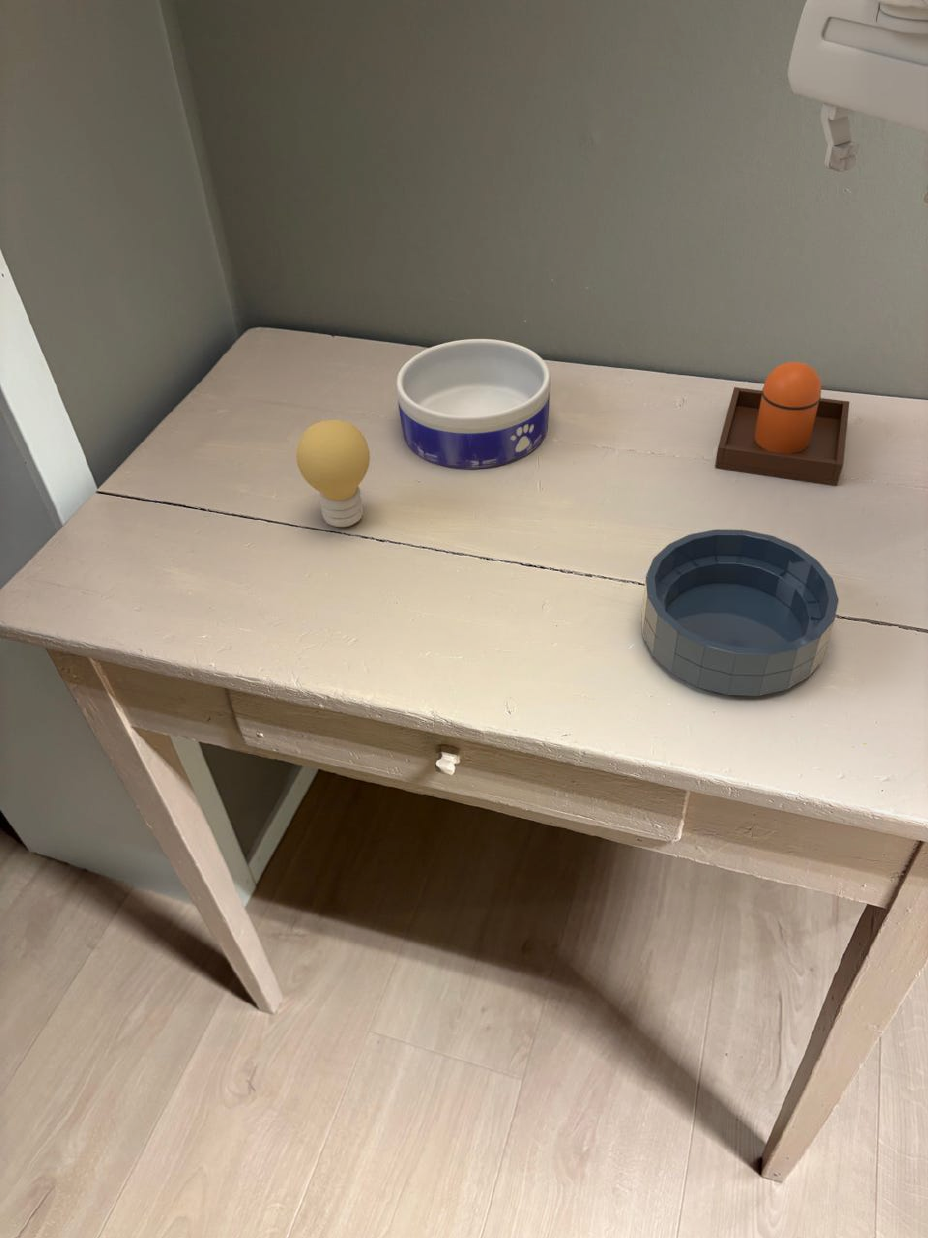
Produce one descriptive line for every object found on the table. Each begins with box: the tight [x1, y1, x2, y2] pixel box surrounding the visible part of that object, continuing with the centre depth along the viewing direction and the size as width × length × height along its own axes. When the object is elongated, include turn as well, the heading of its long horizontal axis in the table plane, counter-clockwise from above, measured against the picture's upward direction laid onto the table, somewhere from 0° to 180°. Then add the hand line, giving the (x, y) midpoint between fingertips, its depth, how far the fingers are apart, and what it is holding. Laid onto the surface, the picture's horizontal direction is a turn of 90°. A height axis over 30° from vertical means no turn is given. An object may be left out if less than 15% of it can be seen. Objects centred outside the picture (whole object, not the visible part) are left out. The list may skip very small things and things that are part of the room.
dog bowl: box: [396, 338, 551, 470], centre depth 97 cm, size 15×15×6 cm
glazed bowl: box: [640, 528, 839, 697], centre depth 74 cm, size 14×14×5 cm
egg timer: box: [754, 361, 822, 454], centre depth 91 cm, size 5×5×8 cm
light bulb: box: [296, 419, 371, 528], centre depth 85 cm, size 6×6×10 cm
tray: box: [714, 386, 850, 487], centre depth 93 cm, size 11×11×2 cm
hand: (886, 185), depth 71 cm, fingers open, 8 cm apart
